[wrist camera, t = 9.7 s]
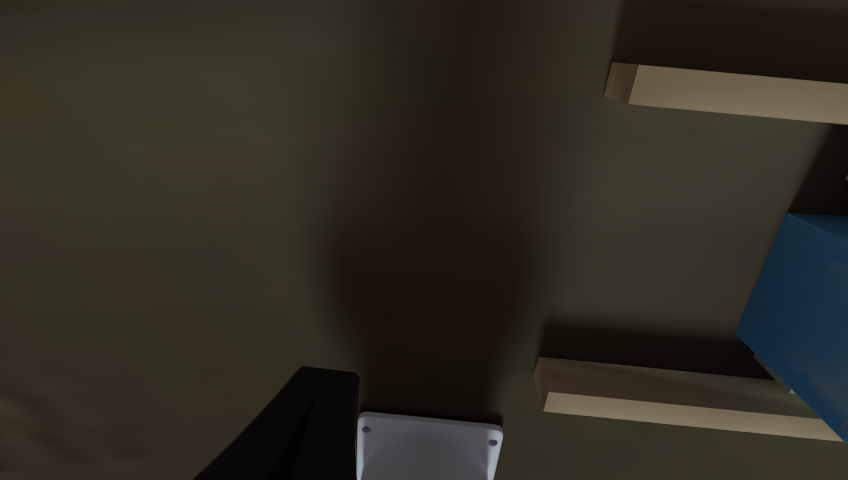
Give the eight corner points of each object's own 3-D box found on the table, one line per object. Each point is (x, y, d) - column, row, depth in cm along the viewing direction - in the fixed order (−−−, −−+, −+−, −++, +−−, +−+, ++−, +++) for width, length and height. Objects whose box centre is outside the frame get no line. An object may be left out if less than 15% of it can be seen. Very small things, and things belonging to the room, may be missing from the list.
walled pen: (863, 407, 22) (909, 448, 20) (533, 374, 22) (543, 411, 20) (1077, 105, 15) (1181, 115, 13) (611, 62, 16) (638, 64, 13)
